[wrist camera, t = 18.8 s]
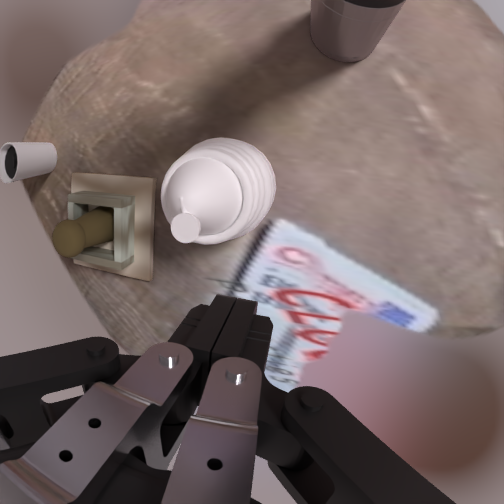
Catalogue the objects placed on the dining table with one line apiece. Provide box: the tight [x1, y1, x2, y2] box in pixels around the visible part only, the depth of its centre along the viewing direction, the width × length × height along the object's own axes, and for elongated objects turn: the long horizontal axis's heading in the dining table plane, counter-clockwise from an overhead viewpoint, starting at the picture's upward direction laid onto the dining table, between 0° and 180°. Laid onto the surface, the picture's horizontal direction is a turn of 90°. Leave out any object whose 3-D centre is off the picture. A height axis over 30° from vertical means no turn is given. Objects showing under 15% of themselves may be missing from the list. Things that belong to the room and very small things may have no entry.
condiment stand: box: [68, 172, 157, 281], centre depth 45 cm, size 16×16×5 cm
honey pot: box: [161, 137, 276, 245], centre depth 34 cm, size 13×13×18 cm
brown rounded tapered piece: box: [52, 206, 114, 258], centre depth 41 cm, size 6×6×11 cm
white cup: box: [0, 142, 57, 183], centre depth 41 cm, size 7×7×10 cm
